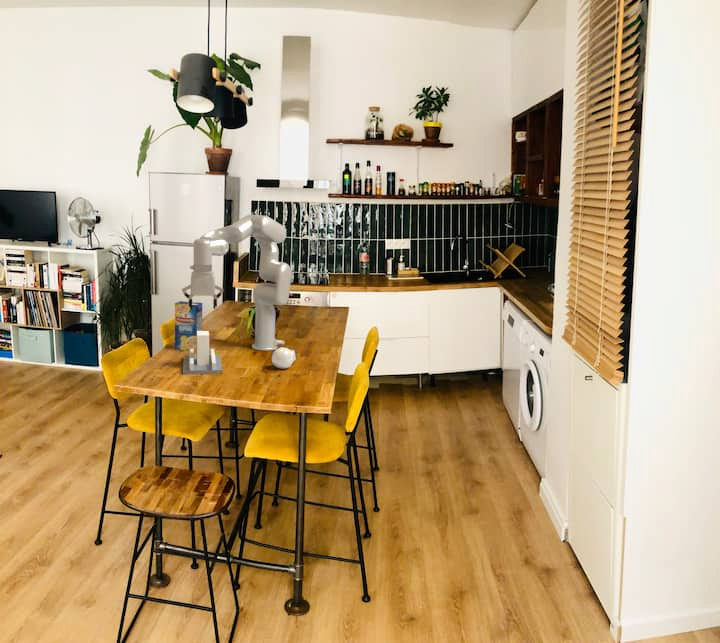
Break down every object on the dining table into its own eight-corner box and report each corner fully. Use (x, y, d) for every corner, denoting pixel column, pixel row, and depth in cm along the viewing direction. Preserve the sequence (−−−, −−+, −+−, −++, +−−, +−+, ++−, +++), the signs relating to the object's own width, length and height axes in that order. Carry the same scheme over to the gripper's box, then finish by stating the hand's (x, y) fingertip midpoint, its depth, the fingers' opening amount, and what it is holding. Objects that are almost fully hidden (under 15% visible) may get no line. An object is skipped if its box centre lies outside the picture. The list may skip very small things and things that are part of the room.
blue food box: (196, 351, 333) (196, 305, 329) (174, 349, 335) (174, 303, 331) (202, 348, 340) (202, 302, 336) (180, 346, 342) (180, 301, 338)
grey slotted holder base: (220, 358, 323) (220, 348, 322) (222, 373, 298) (222, 363, 297) (183, 358, 319) (183, 348, 318) (183, 374, 294) (183, 363, 293)
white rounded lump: (274, 374, 306) (287, 369, 320) (293, 363, 303) (304, 359, 318) (264, 355, 306) (277, 352, 321) (282, 344, 304) (294, 341, 318)
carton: (208, 359, 313) (208, 330, 311) (209, 364, 305) (209, 335, 302) (196, 359, 312) (196, 330, 310) (196, 365, 303) (196, 335, 301)
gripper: (181, 269, 295) (181, 310, 298) (223, 270, 299) (223, 310, 302) (181, 267, 302) (182, 306, 305) (223, 267, 306) (223, 306, 309)
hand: (202, 308), depth 304 cm, fingers open, 9 cm apart
